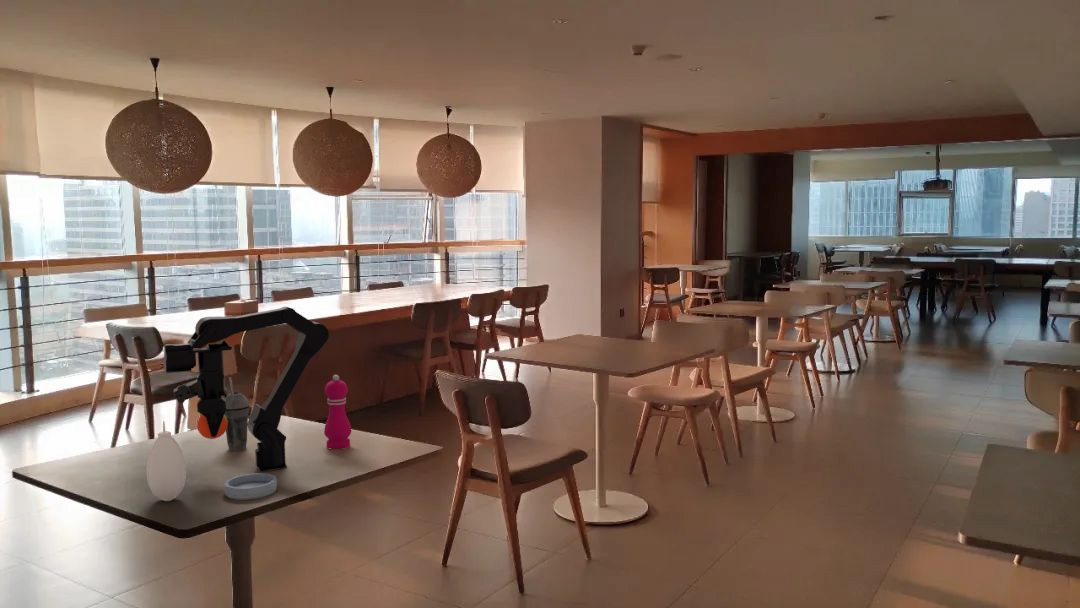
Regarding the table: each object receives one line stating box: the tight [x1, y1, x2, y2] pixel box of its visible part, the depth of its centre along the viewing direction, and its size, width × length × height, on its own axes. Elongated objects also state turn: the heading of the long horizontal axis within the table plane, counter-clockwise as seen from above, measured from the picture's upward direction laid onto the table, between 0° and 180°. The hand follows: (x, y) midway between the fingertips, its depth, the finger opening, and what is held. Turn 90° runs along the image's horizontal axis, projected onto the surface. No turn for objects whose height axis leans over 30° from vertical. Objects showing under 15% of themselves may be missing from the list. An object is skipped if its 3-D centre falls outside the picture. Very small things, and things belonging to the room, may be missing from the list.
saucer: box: [224, 472, 278, 501], centre depth 187 cm, size 11×11×3 cm
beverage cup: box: [224, 376, 251, 452], centre depth 222 cm, size 7×7×20 cm
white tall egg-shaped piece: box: [146, 420, 187, 502], centre depth 181 cm, size 8×8×18 cm
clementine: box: [196, 414, 228, 440], centre depth 198 cm, size 8×7×7 cm
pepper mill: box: [323, 374, 352, 450], centre depth 223 cm, size 7×7×20 cm
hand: (214, 433), depth 199 cm, fingers closed on clementine, 7 cm apart
